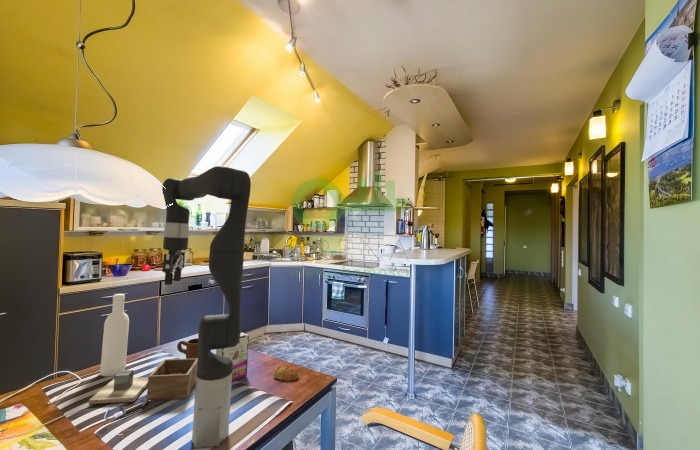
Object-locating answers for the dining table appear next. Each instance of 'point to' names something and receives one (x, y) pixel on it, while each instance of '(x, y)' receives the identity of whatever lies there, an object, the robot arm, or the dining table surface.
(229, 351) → the candy bar box
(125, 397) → the lid
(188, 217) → the robot arm
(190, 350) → the mug
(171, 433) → the dining table surface
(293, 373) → the pastry
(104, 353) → the bottle
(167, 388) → the box
